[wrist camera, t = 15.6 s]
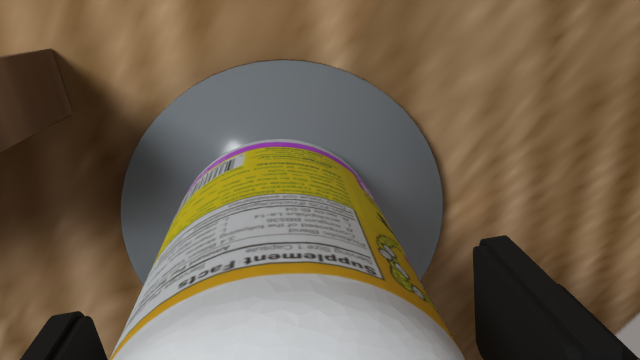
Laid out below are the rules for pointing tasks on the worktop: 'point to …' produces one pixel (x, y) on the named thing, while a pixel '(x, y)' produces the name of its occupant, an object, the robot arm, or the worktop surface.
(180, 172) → the coaster
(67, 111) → the wooden plank block
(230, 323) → the supplement bottle
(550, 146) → the worktop surface
